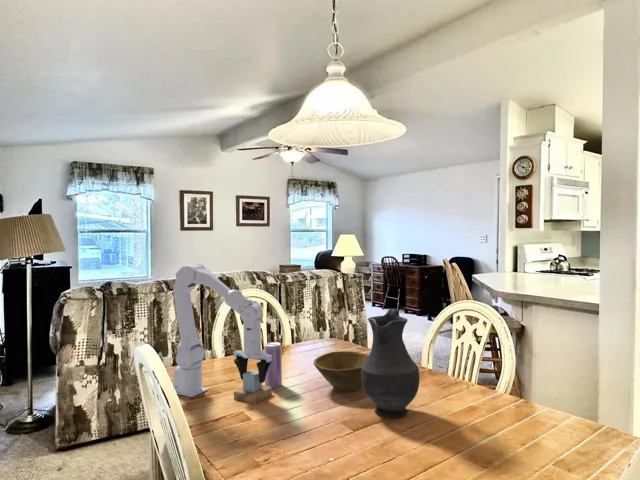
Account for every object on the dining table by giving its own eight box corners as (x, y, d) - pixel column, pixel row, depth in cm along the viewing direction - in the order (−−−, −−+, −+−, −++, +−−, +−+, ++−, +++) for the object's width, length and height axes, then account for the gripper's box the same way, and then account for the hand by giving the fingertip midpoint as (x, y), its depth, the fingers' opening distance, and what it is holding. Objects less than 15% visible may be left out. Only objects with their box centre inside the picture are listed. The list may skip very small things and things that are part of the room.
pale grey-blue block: (243, 390, 145) (242, 373, 145) (251, 386, 149) (250, 370, 149) (254, 392, 143) (253, 375, 143) (261, 388, 147) (261, 371, 147)
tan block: (233, 400, 144) (233, 391, 144) (250, 391, 152) (250, 383, 152) (256, 405, 140) (255, 395, 140) (271, 396, 148) (271, 387, 148)
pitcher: (355, 419, 127) (353, 316, 126) (371, 394, 146) (370, 305, 146) (415, 427, 121) (414, 319, 120) (424, 401, 140) (423, 307, 140)
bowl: (304, 382, 159) (304, 355, 159) (359, 374, 168) (359, 348, 168) (329, 403, 139) (328, 372, 139) (390, 392, 148) (390, 363, 148)
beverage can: (279, 389, 153) (278, 346, 153) (262, 388, 154) (262, 345, 154) (283, 383, 159) (283, 342, 159) (268, 382, 160) (267, 341, 160)
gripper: (227, 340, 146) (228, 380, 146) (262, 345, 139) (263, 387, 139) (240, 336, 152) (241, 374, 152) (275, 340, 145) (276, 380, 145)
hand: (252, 380), depth 146 cm, fingers open, 7 cm apart
